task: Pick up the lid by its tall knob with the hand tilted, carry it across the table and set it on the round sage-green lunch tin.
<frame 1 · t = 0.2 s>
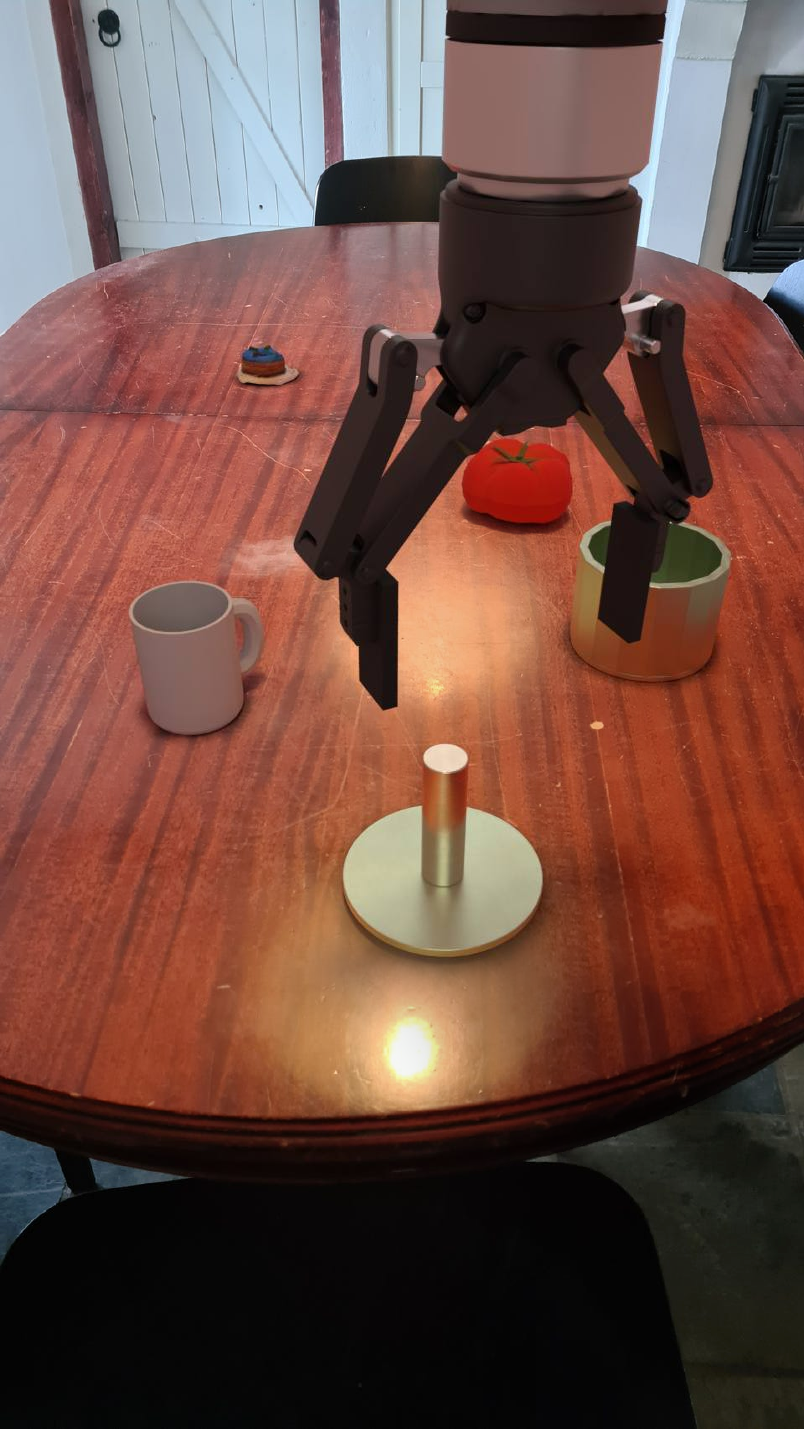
hand: (504, 660, 51), 18 cm above the table, tool pointing down, fingers open, 13 cm apart
cup: (212, 702, 79), on the table
lid: (442, 878, 63), point 1 cm above the table
tomato: (516, 514, 104), on the table
dessert: (267, 378, 136), on the table
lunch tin: (640, 641, 85), on the table
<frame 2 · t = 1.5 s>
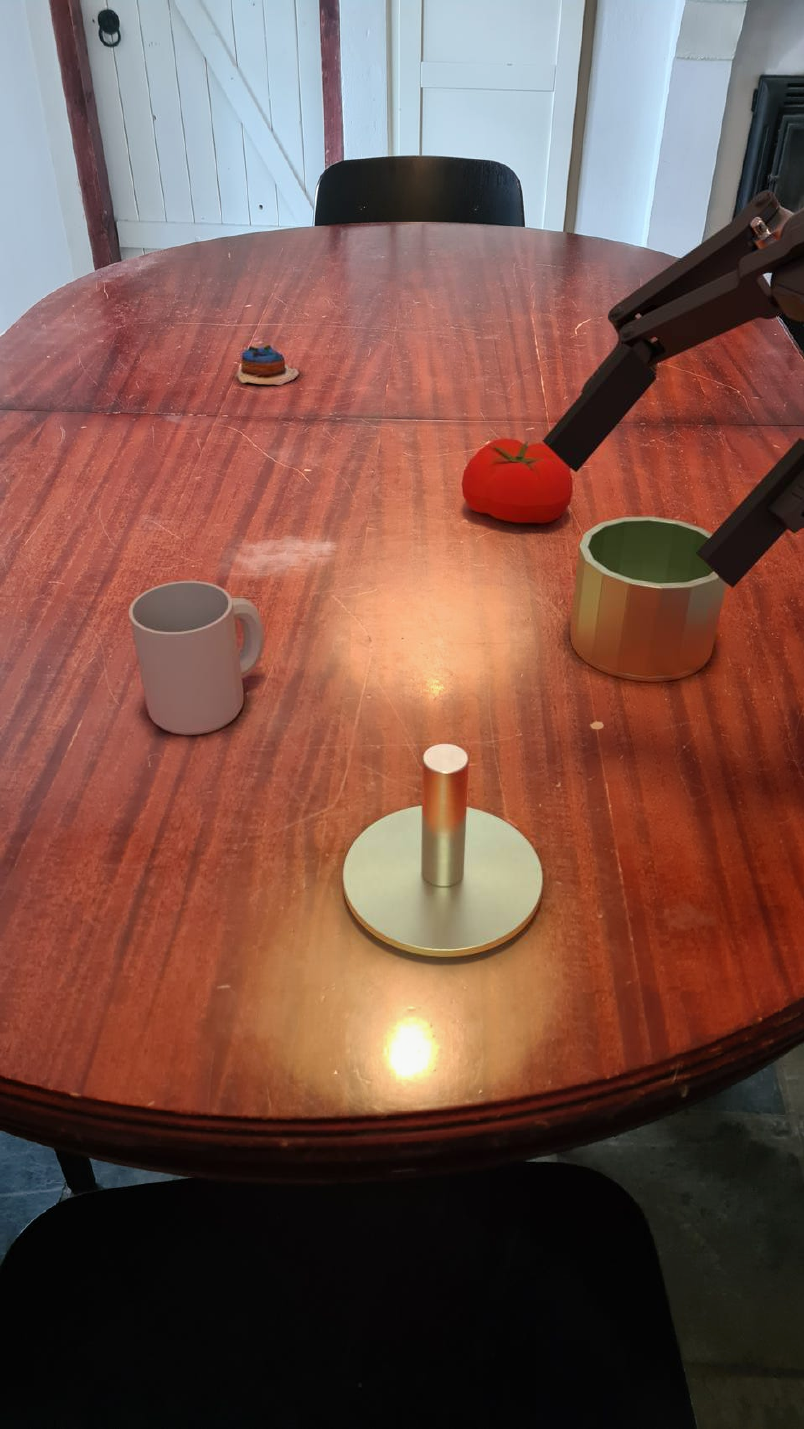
hand: (629, 509, 52), 24 cm above the table, tool tilted 45°, fingers open, 13 cm apart
nothing on the table moved.
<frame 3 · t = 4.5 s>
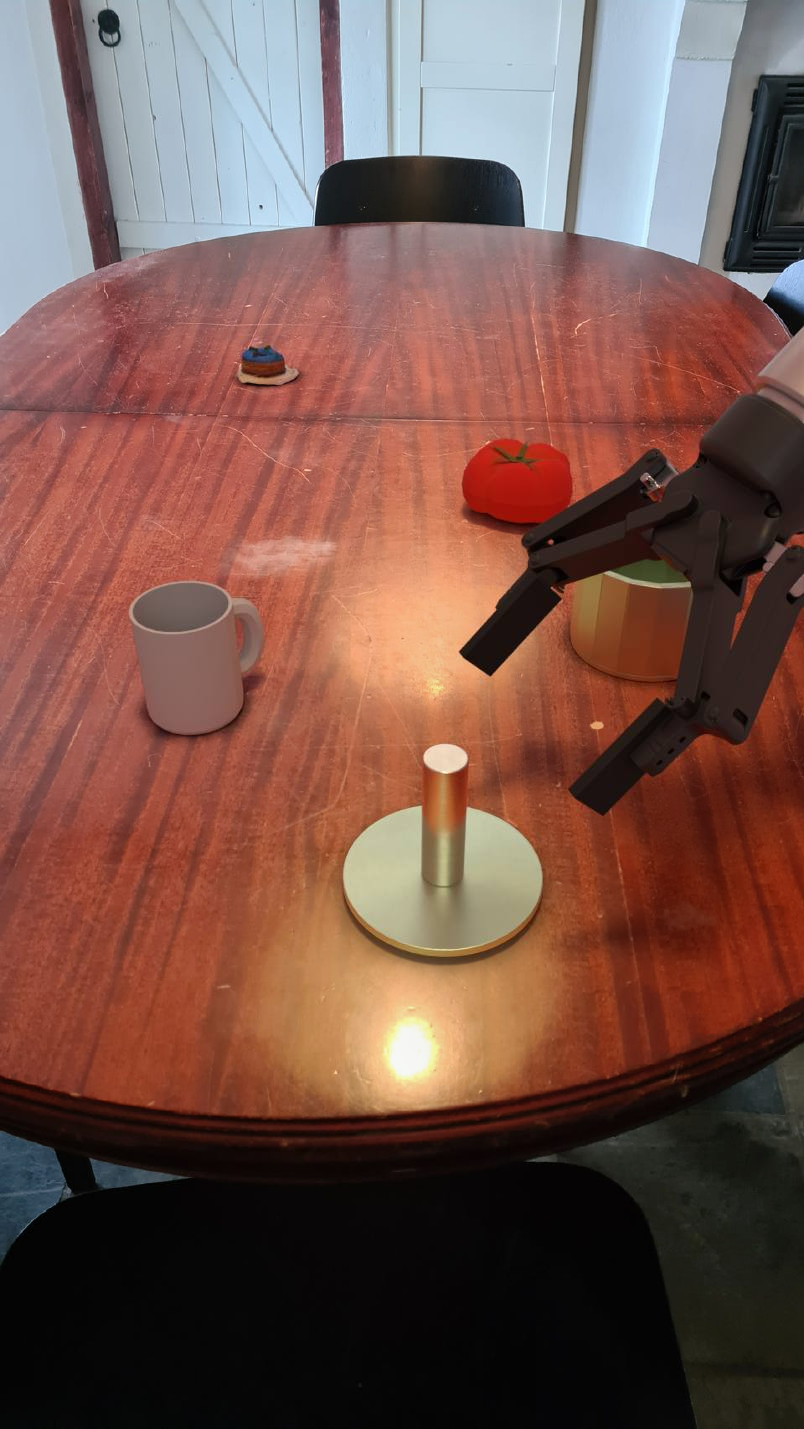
hand: (524, 728, 59), 11 cm above the table, tool tilted 45°, fingers open, 13 cm apart
nothing on the table moved.
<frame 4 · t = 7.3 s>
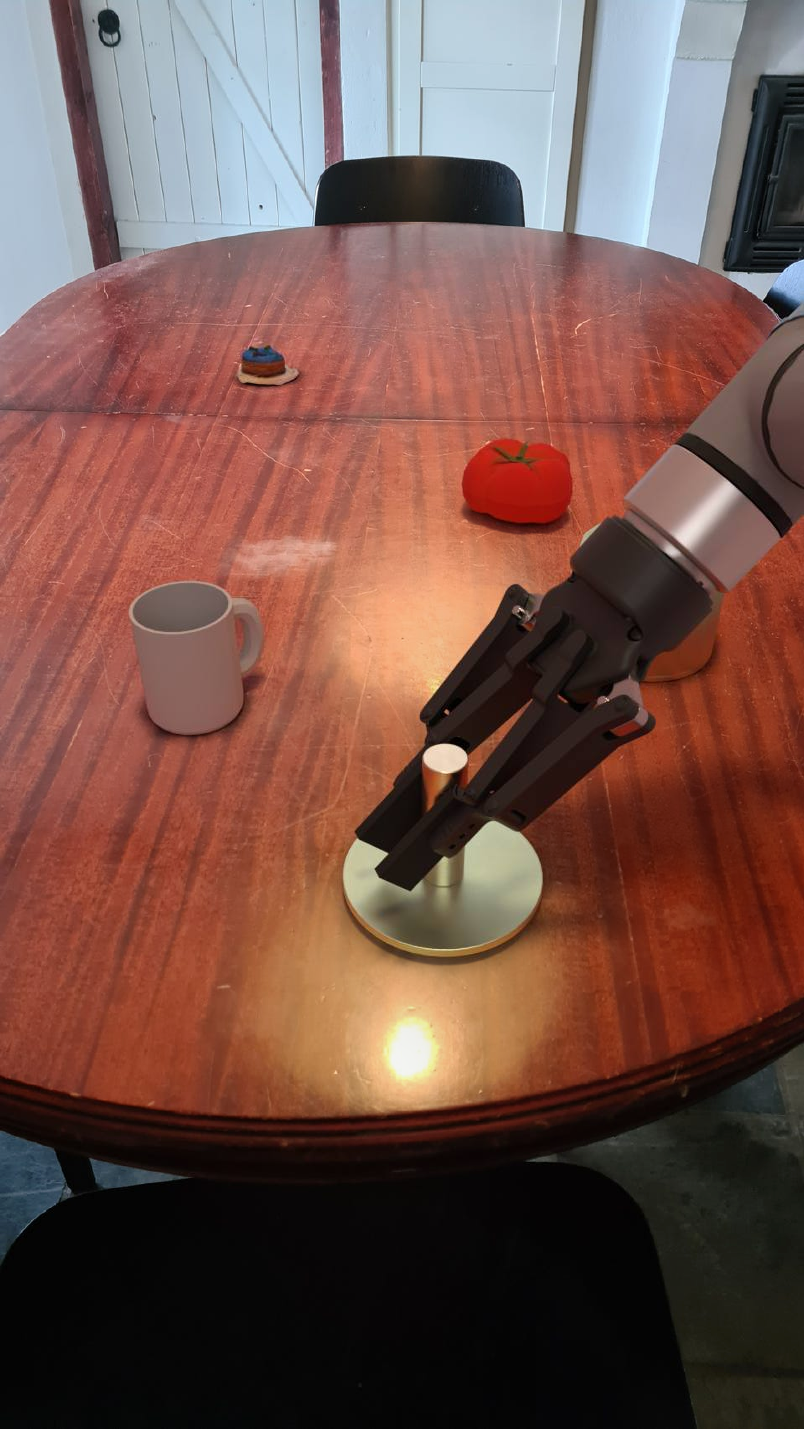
hand: (382, 860, 60), 4 cm above the table, tool tilted 45°, fingers closed on lid, 3 cm apart
lid: (442, 878, 63), point 1 cm above the table, touching gripper
everything else where it was.
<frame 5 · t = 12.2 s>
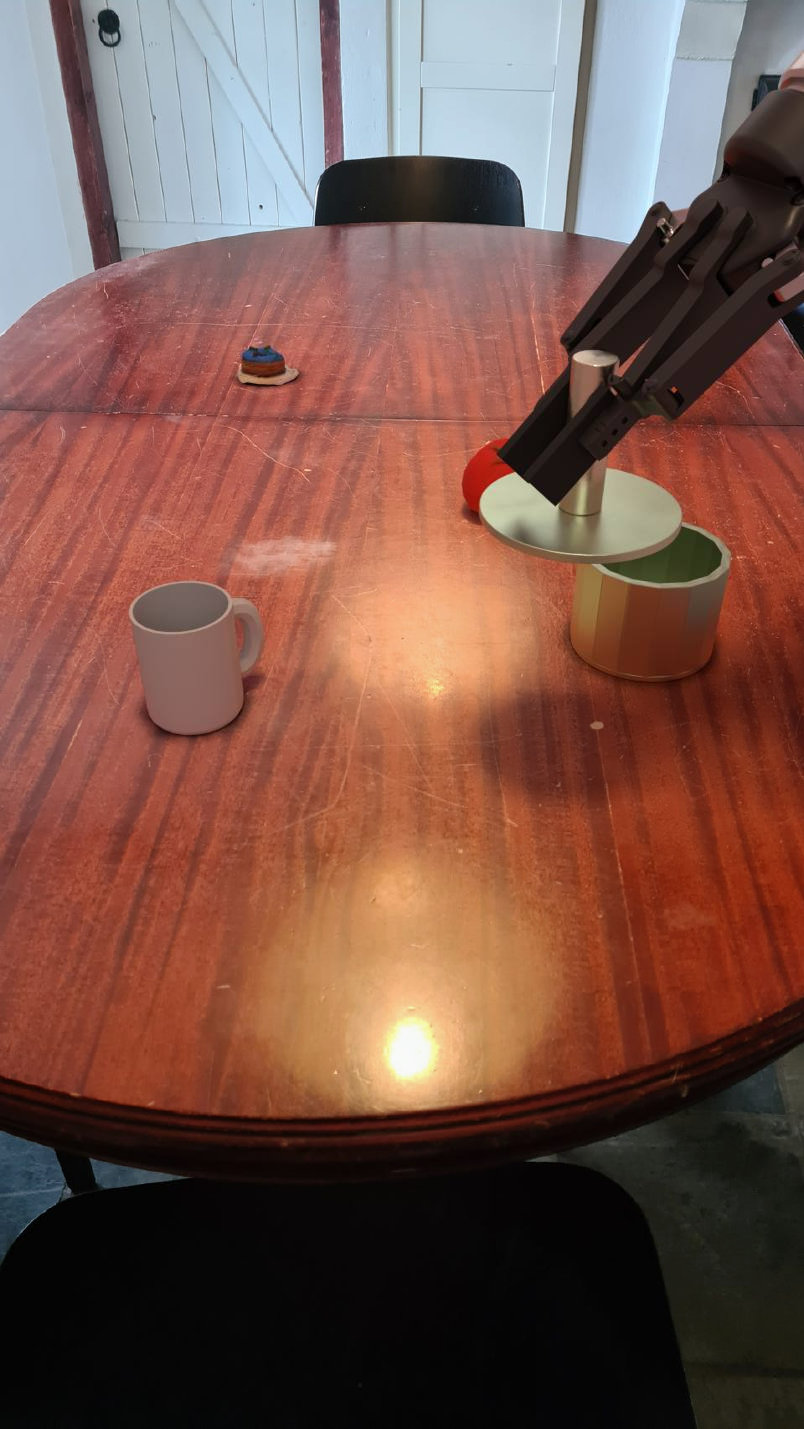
hand: (525, 479, 60), 21 cm above the table, tool tilted 45°, fingers closed on lid, 3 cm apart
lid: (578, 515, 63), point 18 cm above the table, touching gripper
everything else where it was.
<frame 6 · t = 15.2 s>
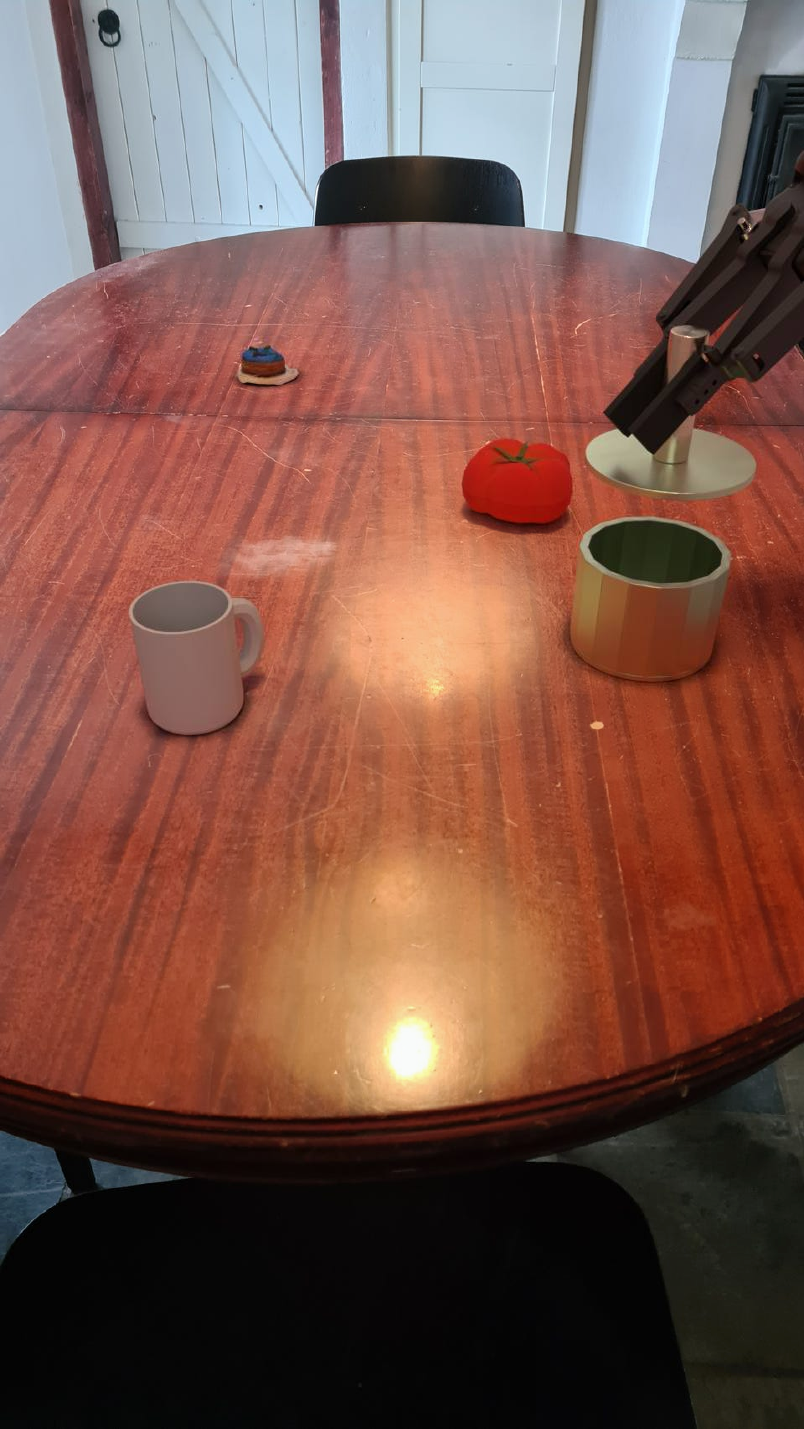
hand: (628, 433, 73), 19 cm above the table, tool tilted 45°, fingers closed on lid, 3 cm apart
lid: (668, 464, 76), point 15 cm above the table, touching gripper
everything else where it was.
when the fingers open (12 cm above the table, at t = 17.3 s): lid stays where it is, resting on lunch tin.
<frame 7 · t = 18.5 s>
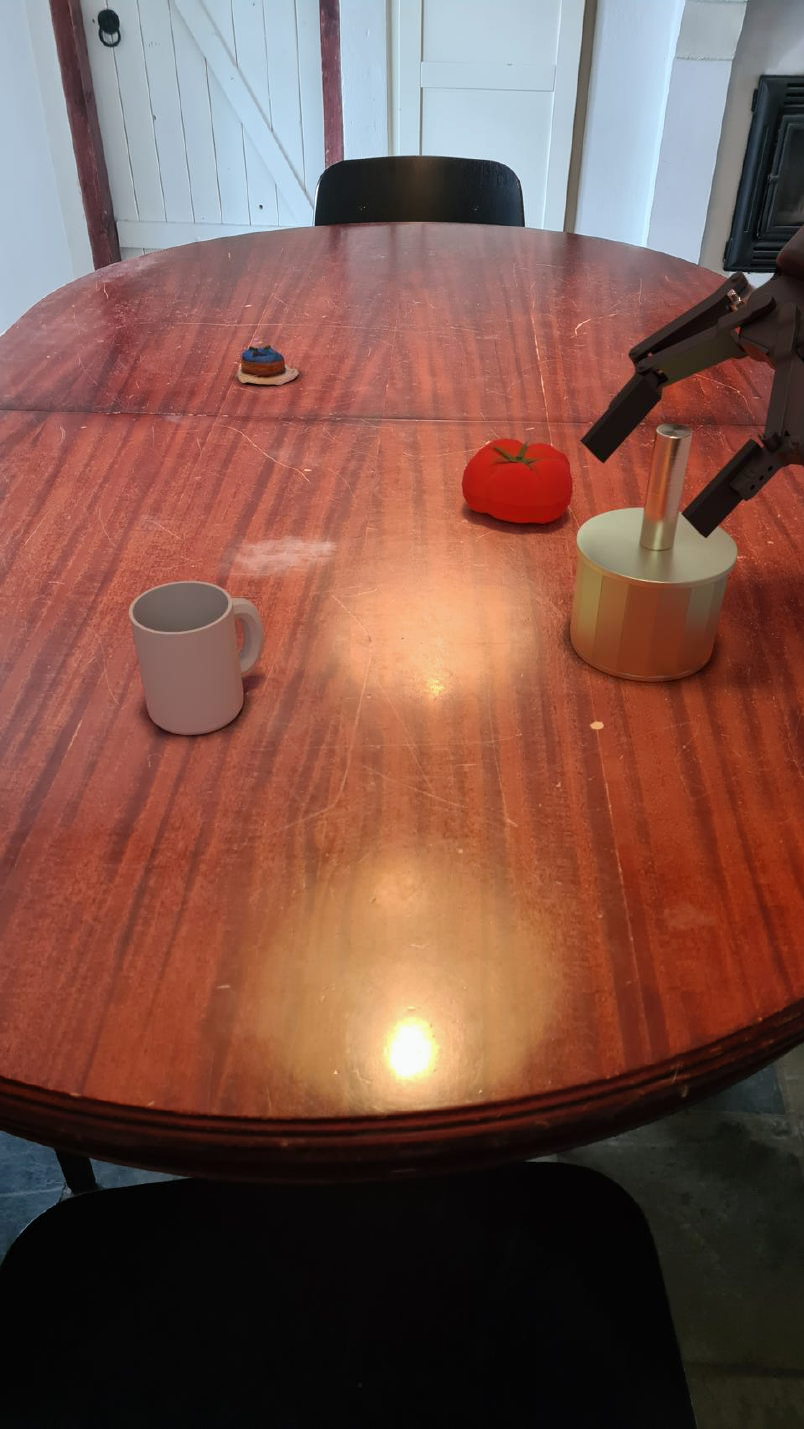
hand: (638, 487, 76), 14 cm above the table, tool tilted 45°, fingers open, 13 cm apart
lid: (655, 549, 80), point 8 cm above the table, touching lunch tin
everything else where it was.
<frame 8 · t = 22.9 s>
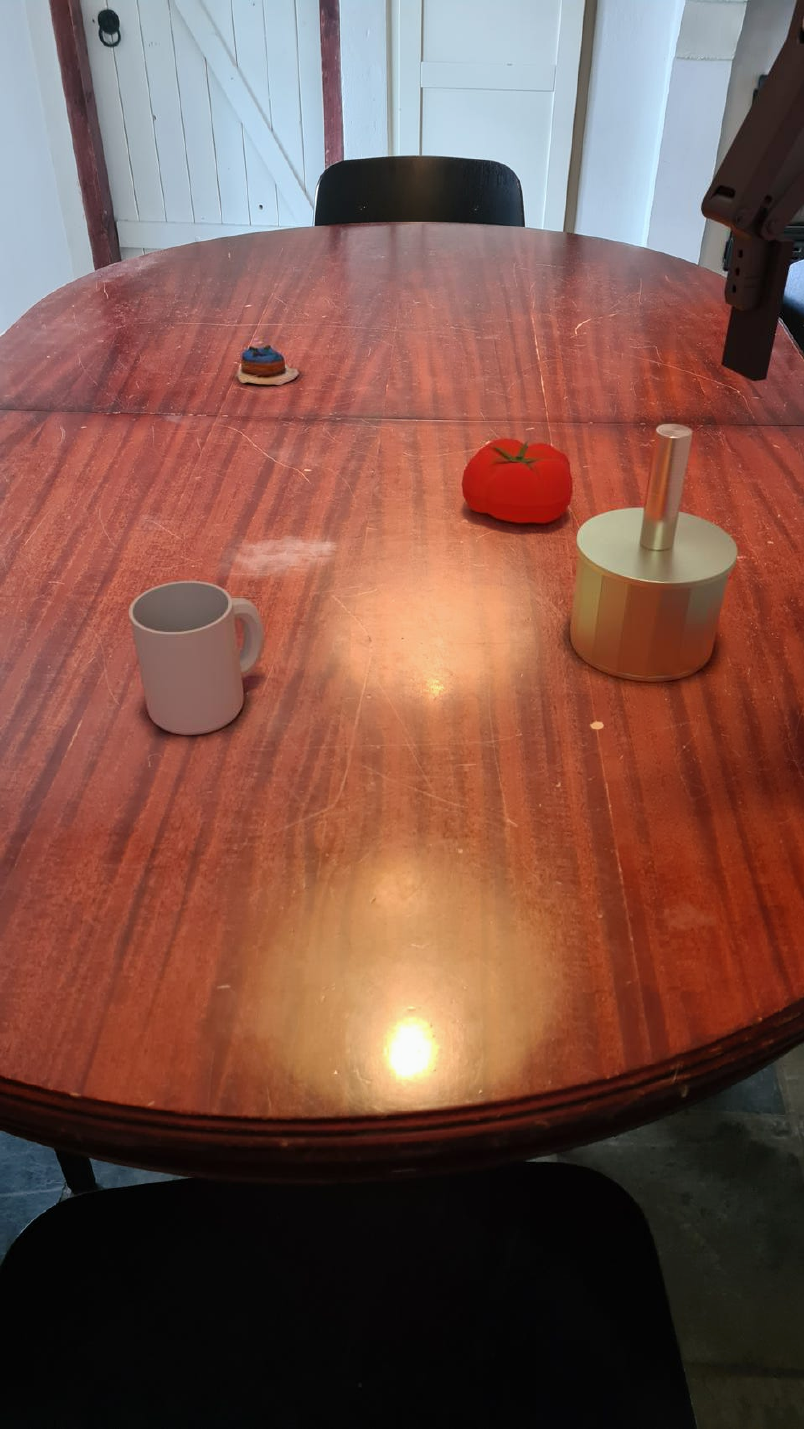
nothing on the table moved.
at the end: lid 0.0 cm off-centre on the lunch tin, point 8.5 cm above the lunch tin's base; lid tilted 0°; the gripper is holding nothing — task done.
